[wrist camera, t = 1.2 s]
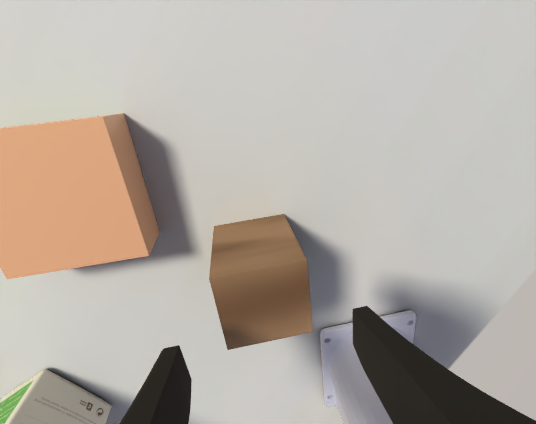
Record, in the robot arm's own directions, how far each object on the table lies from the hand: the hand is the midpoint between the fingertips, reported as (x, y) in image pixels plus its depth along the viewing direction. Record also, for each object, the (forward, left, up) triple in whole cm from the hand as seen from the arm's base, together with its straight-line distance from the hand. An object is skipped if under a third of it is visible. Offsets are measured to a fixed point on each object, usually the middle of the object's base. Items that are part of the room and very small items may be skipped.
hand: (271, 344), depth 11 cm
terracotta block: (+6, +9, -8) cm, 13 cm away
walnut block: (0, 0, -8) cm, 8 cm away
